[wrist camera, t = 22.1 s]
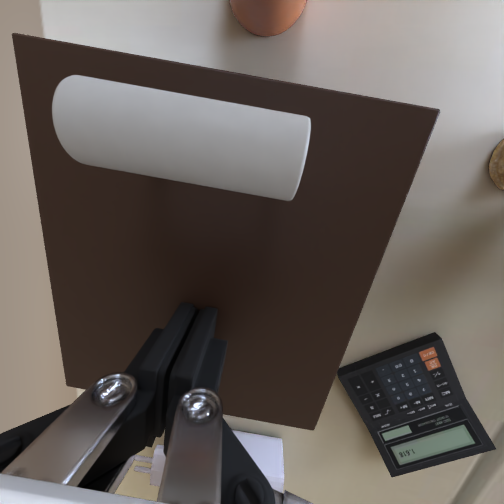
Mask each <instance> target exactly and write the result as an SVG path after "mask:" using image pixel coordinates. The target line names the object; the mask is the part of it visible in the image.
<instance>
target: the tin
mask: <svg viewBox="0 0 504 504" xmlns="http://www.w3.org/2000/svg"><path fill="white" fill-rule="evenodd" d="M306 2H307V0H229V4H230V7H231V9H232V12H233V14H234V16H235V17H236V19H237V20H238V22H239V23H240V24H241V25H242V26H243V27H244V28H245V29H246V30H248V31H249V32H251V33H253V34H256V35H259V36H273V35H277V34H280V33H282V32H284V31H285V30H287V29H288V28H290V27H291V26H292V25H293V24H294V23H295V22H296V20H297V19H298V18H299V16H300V15H301V13H302V11H303V9H304V7H305V5H306Z"/></svg>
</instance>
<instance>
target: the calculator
mask: <svg viewBox="0 0 504 504" xmlns="http://www.w3.org/2000/svg"><path fill="white" fill-rule="evenodd" d="M337 375H338V378H339V380H340V381H341V383H342V385H343V386H344V388H345V390H346V392H347V393H348V395H349V397H350V399H351V400H352V402H353V404H354V405H355V407H356V409H357V411H358V412H359V414H360V416H361V418H362V419H363V421H364V423H365V425H366V426H367V428H368V430H369V432H370V434H371V436H372V438H373V440H374V442H375V444H376V446H377V448H378V450H379V452H380V454H381V456H382V458H383V460H384V462H385V465H386V467H387V469H388V471H389V473H390V475H391V477H395V476H399V475H403V474H406V473H410V472H414V471H417V470H421V469H425V468H428V467H432V466H436V465H439V464H443V463H447V462H450V461H454V460H458V459H461V458H465V457H469V456H473V455H476V454H480V453H484V452H487V451H491V450H495V449H496V448H495V446H494V444H493V443H492V441H491V439H490V438H489V436H488V434H487V433H486V431H485V429H484V428H483V426H482V424H481V423H480V421H479V419H478V418H477V416H476V414H475V413H474V411H473V409H472V408H471V406H470V404H469V403H468V401H467V399H466V397H465V395H464V392H463V390H462V387H461V385H460V382H459V380H458V378H457V375H456V373H455V370H454V368H453V365H452V363H451V360H450V358H449V355H448V353H447V350H446V348H445V346H444V343H443V341H442V338H441V337H440V336H439V335H438V334H436V333H432V334H429V335H427V336H424V337H421V338H419V339H416V340H413V341H411V342H408V343H406V344H403V345H400V346H398V347H395V348H392V349H390V350H387V351H384V352H382V353H379V354H377V355H374V356H371V357H369V358H366V359H363V360H361V361H358V362H356V363H353V364H350V365H348V366H345V367H342V368H340V369H338V371H337Z"/></svg>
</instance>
